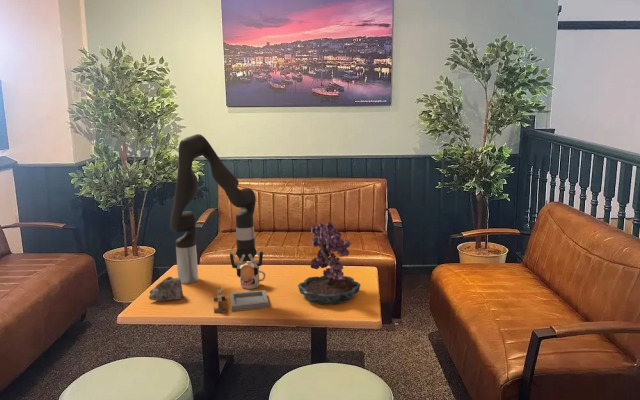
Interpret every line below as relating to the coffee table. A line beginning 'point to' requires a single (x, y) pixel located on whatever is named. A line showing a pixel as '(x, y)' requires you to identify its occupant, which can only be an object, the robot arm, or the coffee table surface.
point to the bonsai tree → (329, 269)
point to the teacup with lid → (251, 279)
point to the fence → (220, 302)
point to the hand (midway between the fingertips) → (247, 276)
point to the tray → (249, 300)
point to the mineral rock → (167, 290)
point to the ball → (247, 271)
